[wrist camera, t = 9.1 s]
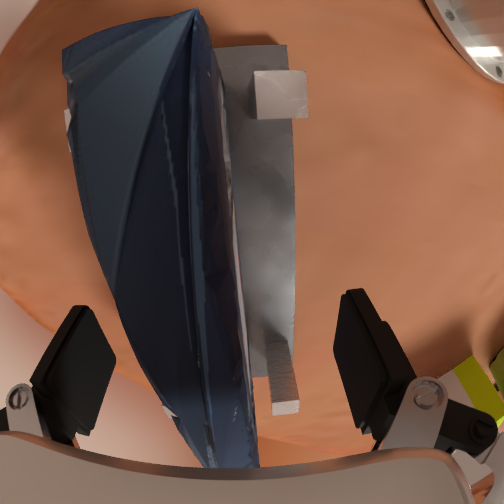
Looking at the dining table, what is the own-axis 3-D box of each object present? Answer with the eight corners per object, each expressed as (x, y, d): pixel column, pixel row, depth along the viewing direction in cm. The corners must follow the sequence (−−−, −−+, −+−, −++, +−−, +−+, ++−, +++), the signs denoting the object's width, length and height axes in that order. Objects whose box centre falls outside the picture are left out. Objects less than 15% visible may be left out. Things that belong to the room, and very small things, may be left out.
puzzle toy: (406, 396, 27) (434, 461, 18) (472, 354, 25) (508, 411, 16) (412, 420, 31) (432, 472, 22) (467, 386, 29) (493, 434, 20)
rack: (114, 72, 12) (52, 59, 6) (283, 49, 12) (311, 12, 6) (181, 371, 22) (172, 432, 16) (290, 364, 22) (302, 426, 17)
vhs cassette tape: (252, 362, 20) (261, 488, 11) (212, 363, 20) (206, 489, 11) (235, 78, 12) (234, -4, 3) (174, 84, 12) (53, 41, 3)
